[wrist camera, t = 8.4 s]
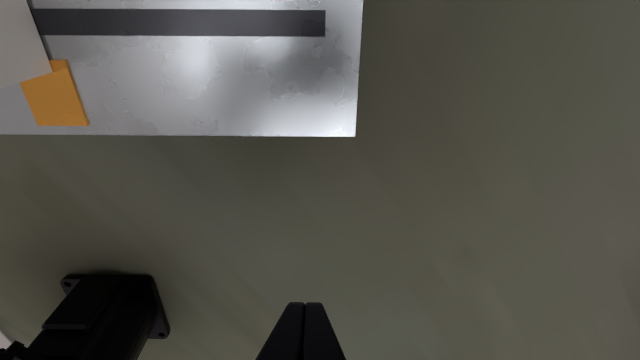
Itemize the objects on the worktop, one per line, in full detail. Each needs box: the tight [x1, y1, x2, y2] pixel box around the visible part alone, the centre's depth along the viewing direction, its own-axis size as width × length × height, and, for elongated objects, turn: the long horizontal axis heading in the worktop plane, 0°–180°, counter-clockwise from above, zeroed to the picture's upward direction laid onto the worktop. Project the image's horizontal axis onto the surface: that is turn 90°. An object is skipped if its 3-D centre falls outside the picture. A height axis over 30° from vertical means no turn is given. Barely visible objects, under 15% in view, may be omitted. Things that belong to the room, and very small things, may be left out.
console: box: [0, 0, 363, 137], centre depth 15 cm, size 10×18×3 cm, turn 90°
